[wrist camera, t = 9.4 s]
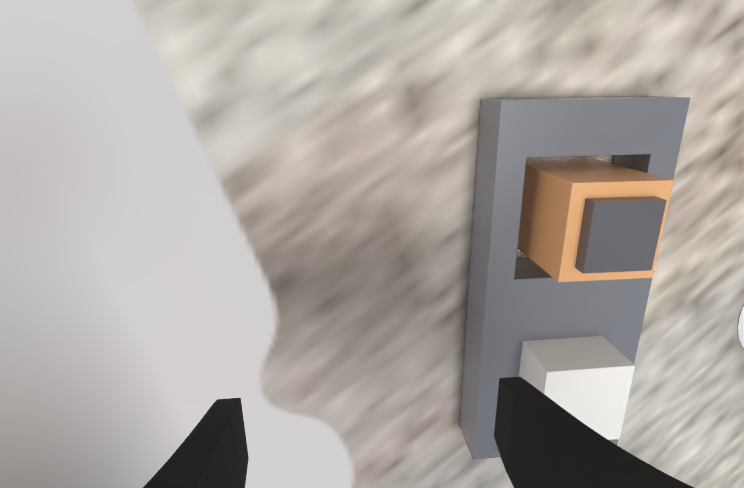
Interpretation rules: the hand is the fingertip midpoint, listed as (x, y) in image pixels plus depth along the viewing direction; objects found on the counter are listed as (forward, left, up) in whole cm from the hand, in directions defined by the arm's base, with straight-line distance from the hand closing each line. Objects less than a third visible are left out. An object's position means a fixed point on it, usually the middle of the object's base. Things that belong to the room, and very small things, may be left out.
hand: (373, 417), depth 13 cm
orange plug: (+3, -10, -10) cm, 15 cm away
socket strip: (-2, -10, -10) cm, 15 cm away
